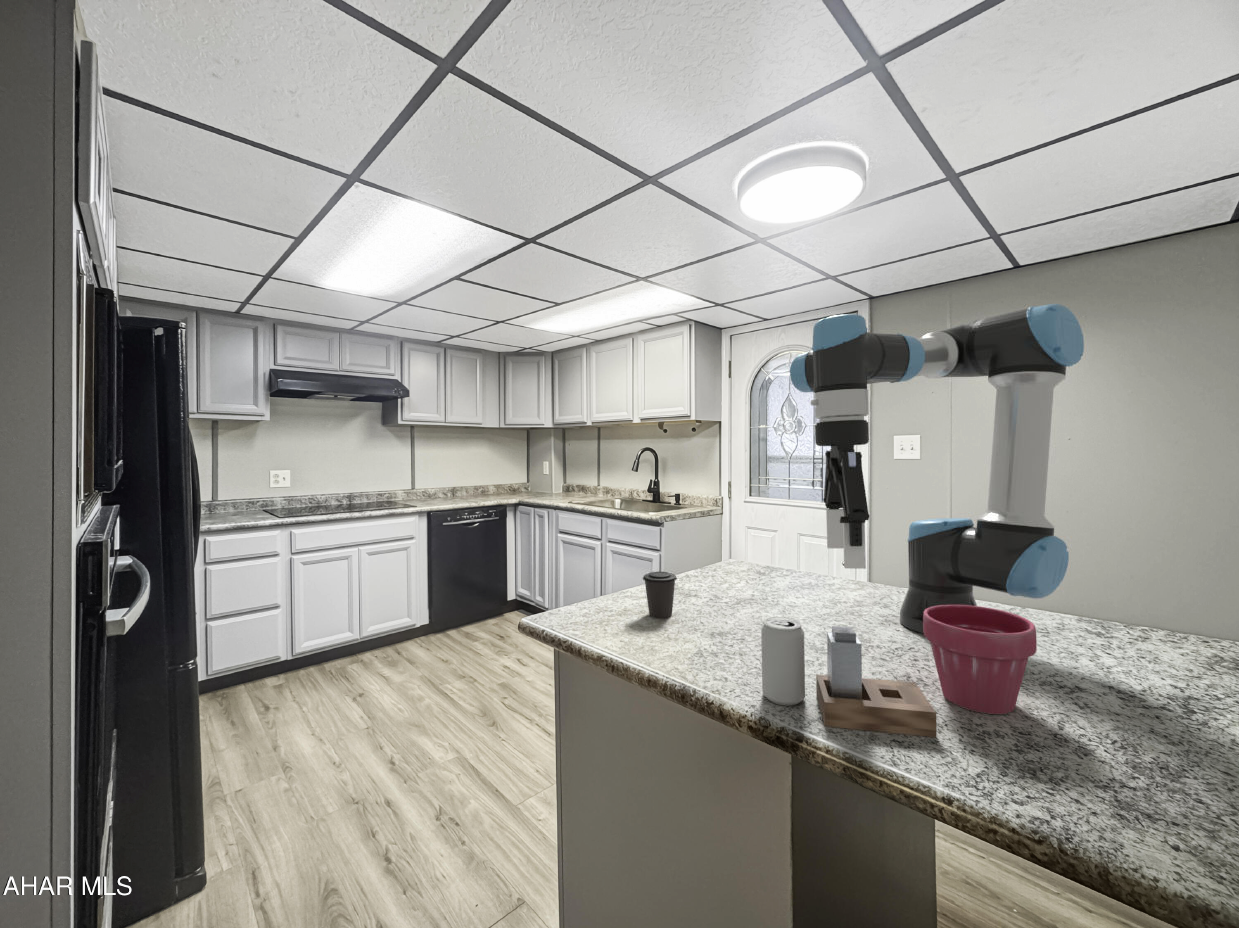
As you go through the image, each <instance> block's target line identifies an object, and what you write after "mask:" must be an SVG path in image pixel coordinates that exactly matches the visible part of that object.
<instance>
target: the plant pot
mask: <svg viewBox="0 0 1239 928" xmlns="http://www.w3.org/2000/svg"><path fill="white" fill-rule="evenodd" d="M923 632H924V634H923V636H924V637H925V638H926V639H927V640H928V641H929V642H930V646H931V651H932V655H933V659H934V663H935V667H936V672H937V675H938V679H939V680H938V681H939V684H940V687H941V691H942V694H943V696H944V698H946V700H948V701H949V702H950V703H952V704H954V705H956V706H958V707H960V708H963V709H967V710H970V711H972V712H977V713H983V714H989V715H1006V714H1010V713H1012V712H1013V711H1014V710H1015V709H1016V705H1017V701H1018V697H1019V694H1020V690H1021V686H1022V683H1023V680H1024V676H1025V671H1026V668H1027V664H1028V661H1029V658H1030V657H1033V656H1034V655H1035V654H1036V653H1037V650H1038V649H1037V644H1038V643H1037V629H1036V626H1035V624H1034V623H1033V622H1032V621H1031V620H1030V619H1027V618H1026V617H1023V616H1021V615H1018V614H1015V613H1012V612H1009V611H1006V610H1001V609H997V608H991V607H985V606H978V605H977V606H970V605H939V606H933V607H929V608H927V609H925V611H924V614H923Z"/></svg>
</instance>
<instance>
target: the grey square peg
mask: <svg viewBox="0 0 1239 928" xmlns="http://www.w3.org/2000/svg"><path fill="white" fill-rule="evenodd" d="M826 636H827V637H826V641H827V642H826V644H827V645H826V647H827V649H826V650H827V651H826V653H827V656H826V659H827V665H826V666H827V675H828V696H829V697H834V698H845V699H856V700H862V678H863V676H862V675H863V671H862V670H863V669H862V667H863V663H862V662H863V661H862V659H863V657H862V654H863V653H862V648H863V647H862V642H861V641H860V638H859V637H858V635H857V632H856V631H855V629H854V628H853V626H840V625H839V626H837V625H836V626H835V625H831V632H829V631H828V632H826Z"/></svg>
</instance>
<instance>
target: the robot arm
mask: <svg viewBox="0 0 1239 928" xmlns="http://www.w3.org/2000/svg"><path fill="white" fill-rule="evenodd" d="M1084 351H1085V339H1084V334H1083V330H1082V327H1081V324H1080V322H1079V320H1078V319H1077V317H1076V315H1075V314H1074V313H1073V311H1072V310H1070V308H1069V307H1066V306H1064V305H1063V304H1059V303H1050V304H1044V305H1040V306H1034V305H1033V306H1029V307H1028V308H1025V309H1021V310H1016V311H1011V312H1007V313H1003V314H997V315H995V316H994V315H993V316H990V317H986V318H979V319H975V320H971V321H969V322H966V323H963V324H959V325H956V326H952V327H950V328H945V329H943V330H942V329H941V330H937V331H931V332H928V333H926V334H924V335H922V337H920V338H916V337H914V336H911V335H905V334H901V333H881V332H880V333H877V332H876V333H875V332H868V327H867V323H866V318H865V317H864V316H862V315H861V314H856V313H853V314H852V313H848V314H847V313H846V314H838V315H831V316H828V317H825V318H822V319H820V320H818V321H816V323H815V324H814V326H813V329H812V347H811V350H808V351H807V352H804V353H801V354H799V355H797V356H796V357H795V358H794V359H793V360H792V362H791V364H790V367H789V376H790V382H791V383H792V385H793V387H794V388H795V389H796V390H798V391H799V392H802V393H814V398H812V399H811V400H810V405H811V406H815V407H814V417H815V418H816V419H818V420H819V422H816V423H815V425H814V430H815V431H814V433H815V434H814V436H815V439H814V440H815V445H816V446H818V447H830V450H826V451H825V453H824V454H825V474H824V488H823V489H824V491H823V498H822V500H823V503H824V504H825V505H824V506H825V508H826V509H825V511H826V512H825V513H826V514H825V515H826V517H825V518H826V545H827V547H826V548H827V549H843V567H844V569H855V570H856V569H859V570H860V569H863V570H864V569H867V568H866V566H867V561H866V526H865V523H866V521H869V519H870V514H869V507H868V500H867V494H866V487H865V481H864V473H863V466H862V465H863V464H862V462H863V461H862V457H863V454H862V452H861V451H856V450H855V446H864V445H867V444H868V443H869V442H870V441H869V440H870V437H869V436H870V433H869V431H870V430H869V429H870V428H869V421H867V419H865V417H867V416H868V415H869V413H870V412H869V411H870V410H869V389H868V385H871V384H879V383H887V382H888V383H891V384H893V383H894V384H895V383H900V382H907V381H910V380H912V379H913V378H915V377H922V376H923V377H925V378H928V379H940V378H978V377H987V382H988V383H989V384H990V385H991V386H993V387H994V389H996V393H995V394H996V395H995V405H994V407H995V408H994V417H993V418H994V421H993V432H992V433H993V434H992V446H991V461H990V473H989V485H988V486H989V487H988V500H987V510H986V512H985V513H983V514H982V515H980V516H979V517H977V519H976V526H975V524H974V522H973V520H972V518H966V517H962V518H961V517H958V518H957V517H955V518H953V517H952V518H933V519H930V518H929V519H922V520H921V519H920V520H914V521H913V522H912V523H910V525H909V528H908V539H907V543H908V546H907V547H908V589H907V592H906V594H905V596H904V598H903V601H902V604H901V607H900V611H899V622H900V624H901V625H903V626H904V627H905V628H907V629H909V630H912V631H915V632H917V633H920V634H923V635H924V632H923V614H924V611H925V609H927V608H929V607H933V606H939V605H970V606H978V604H977V602H976V599H975V597H974V592H973V591H974V587H978V588H981V589H985V590H991V591H995V592H1000V593H1004V594H1008V595H1010V596H1013V597H1023V598H1029V599H1032V600H1033V599H1036V600H1038V599H1044V598H1046V597H1047V598H1048V596H1050V595H1051V594H1053V593H1054V592H1055V591H1056V590H1057V589H1058V587H1059V586H1060V585H1061V583H1062V582H1063V581H1064V578H1065V576H1066V574H1067V569H1068V565H1069V560H1070V559H1069V557H1070V554H1069V551H1068V546H1067V544H1066V543H1067V542H1065V541H1064V540H1063V539H1061V538H1060V537H1058V536H1056V535H1055V526H1054V524H1052V523H1051V522H1050V521H1049V520H1048V519H1047V517H1046V515H1045V514H1046V513H1045V511H1046V499H1047V497H1046V496H1047V486H1048V485H1047V484H1048V472H1049V460H1050V459H1049V457H1050V444H1051V431H1052V419H1053V418H1052V417H1053V416H1052V415H1053V403H1054V390H1055V388H1056V386H1057V385H1059V384H1060V383H1062V382H1063V381H1065V380H1066V375H1067V374H1066V373H1067V367H1069V368H1070V367H1073V366H1074V365H1076V364H1078V363H1079V362H1080V360H1082V357H1083V356H1084V355H1083V354H1084ZM974 526H975V527H974Z"/></svg>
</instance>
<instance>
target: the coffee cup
mask: <svg viewBox="0 0 1239 928" xmlns="http://www.w3.org/2000/svg"><path fill="white" fill-rule="evenodd" d="M642 579H643V581H644V585H645V593H646V599H647V608H648V609H647V610H648V615H649V617H650V618H652V619H656V620H657V619H658V620H661V619H662V620H665V619H668V618H671V617H672V616H673V605H674V597H675V586H676V580H677V579H678V578H677V575H676V574H674V573H670V572H668V571H650V572H649V573H646V574H644V575H643V577H642Z"/></svg>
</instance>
